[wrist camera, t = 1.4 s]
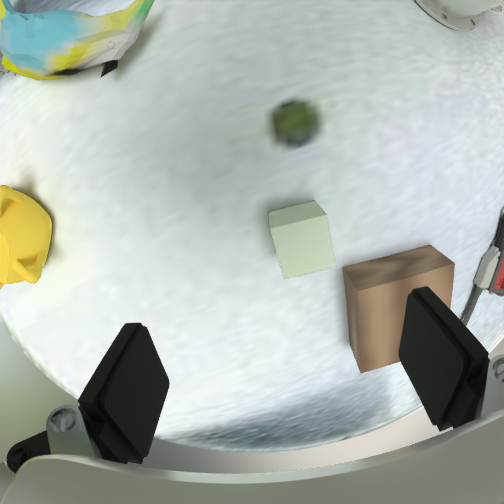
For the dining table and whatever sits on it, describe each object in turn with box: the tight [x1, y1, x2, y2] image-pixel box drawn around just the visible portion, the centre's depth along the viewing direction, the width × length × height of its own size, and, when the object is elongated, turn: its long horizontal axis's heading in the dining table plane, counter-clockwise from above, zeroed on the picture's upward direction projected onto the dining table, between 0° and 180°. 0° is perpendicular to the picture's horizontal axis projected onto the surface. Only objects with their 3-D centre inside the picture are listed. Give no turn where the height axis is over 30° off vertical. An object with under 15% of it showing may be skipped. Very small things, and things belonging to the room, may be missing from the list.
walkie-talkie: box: [463, 214, 504, 326], centre depth 30 cm, size 9×4×20 cm
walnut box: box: [343, 245, 455, 373], centre depth 31 cm, size 12×12×6 cm
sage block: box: [268, 200, 337, 280], centre depth 28 cm, size 5×5×6 cm
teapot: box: [0, 185, 52, 289], centre depth 26 cm, size 14×13×10 cm
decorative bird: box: [0, 0, 154, 80], centre depth 17 cm, size 14×30×9 cm, turn 63°
